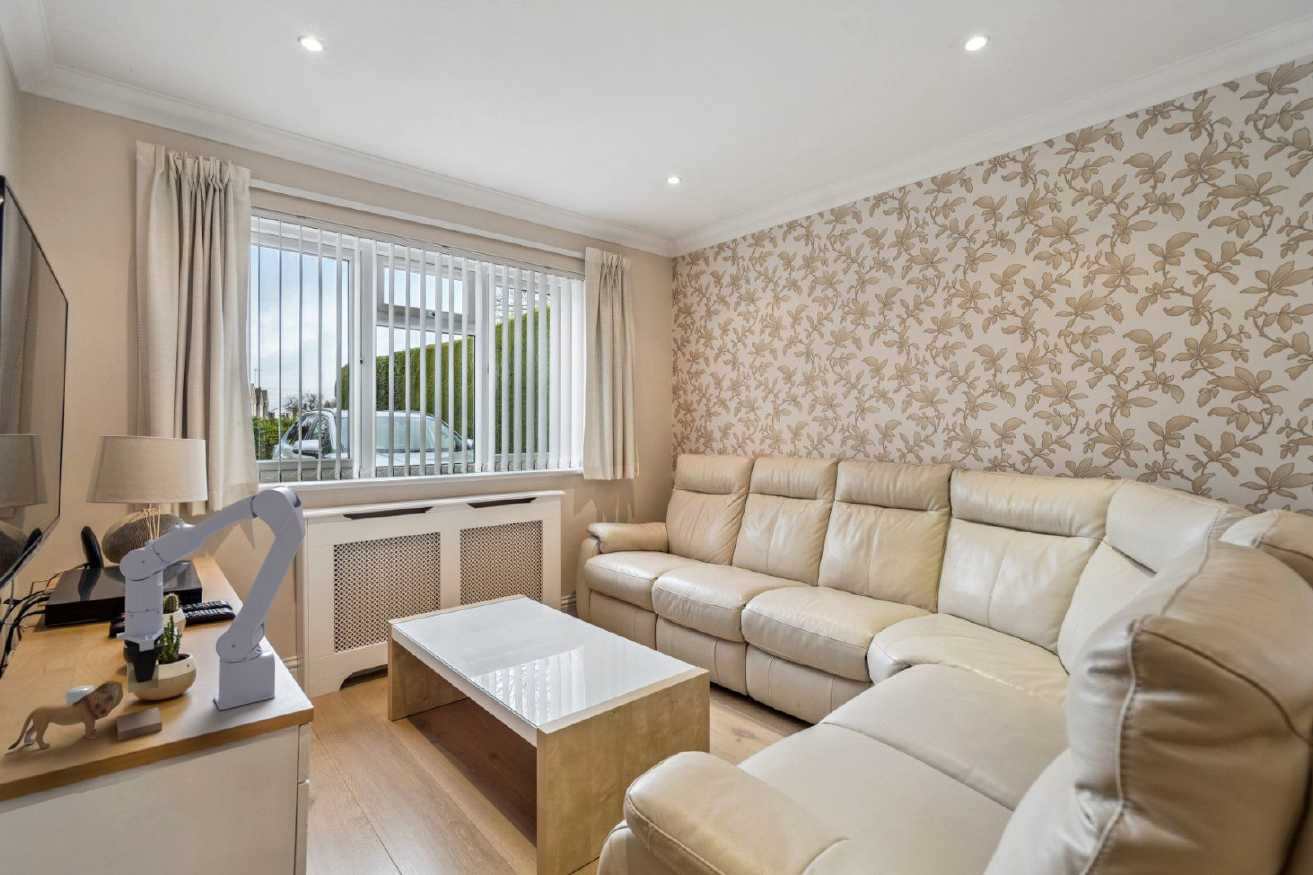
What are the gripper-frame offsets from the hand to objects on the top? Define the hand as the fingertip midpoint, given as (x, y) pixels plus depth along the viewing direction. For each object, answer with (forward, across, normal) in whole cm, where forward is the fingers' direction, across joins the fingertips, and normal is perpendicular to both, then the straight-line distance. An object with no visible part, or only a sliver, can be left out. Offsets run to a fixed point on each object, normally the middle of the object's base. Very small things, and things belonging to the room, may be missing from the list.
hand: (143, 677), depth 120 cm
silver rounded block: (+6, -11, -9) cm, 16 cm away
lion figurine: (+6, +6, -10) cm, 14 cm away
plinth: (+6, +9, -1) cm, 11 cm away
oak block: (+2, 0, 0) cm, 2 cm away
